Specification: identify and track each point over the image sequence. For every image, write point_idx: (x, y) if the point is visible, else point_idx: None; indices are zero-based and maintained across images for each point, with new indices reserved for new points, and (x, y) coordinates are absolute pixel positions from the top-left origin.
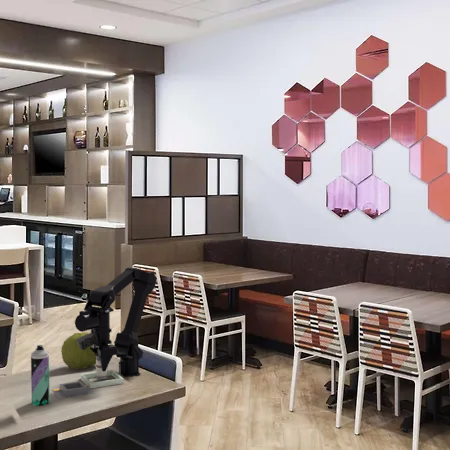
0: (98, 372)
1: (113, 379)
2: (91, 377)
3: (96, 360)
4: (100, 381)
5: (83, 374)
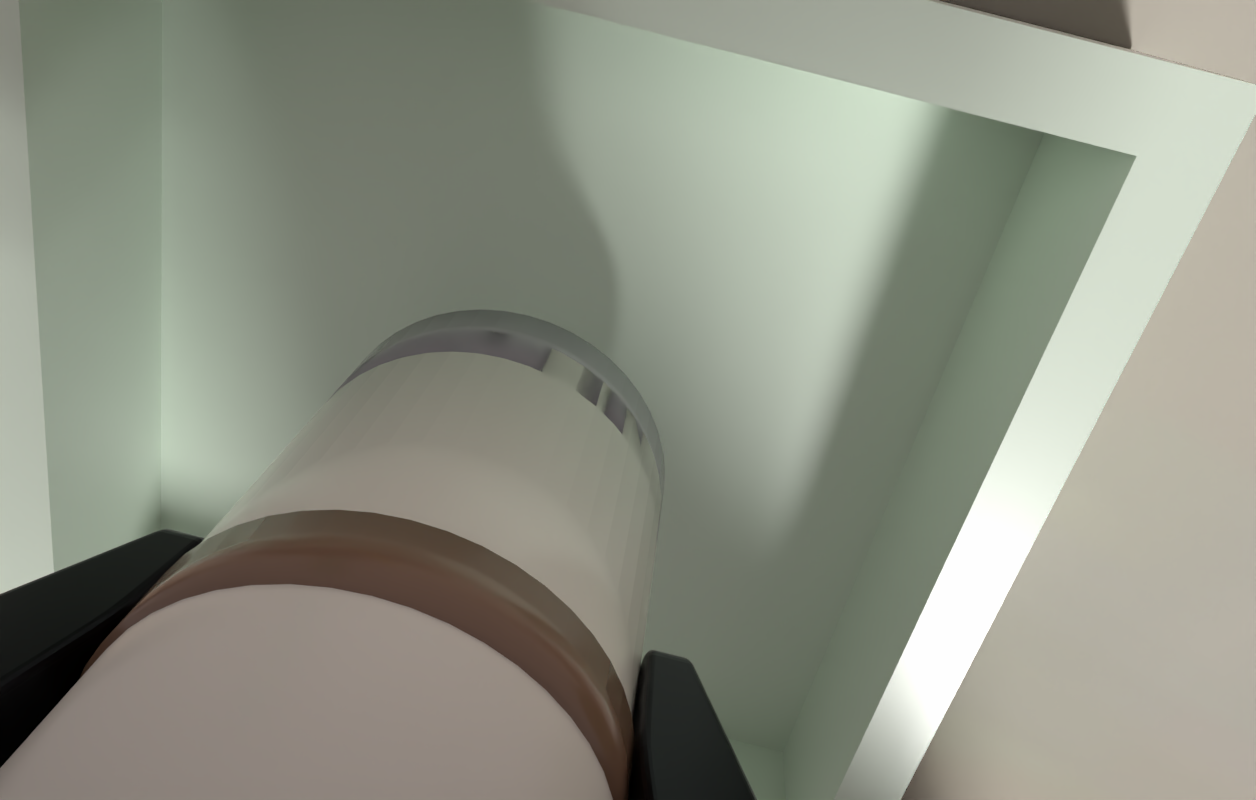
0: (324, 423)
1: (47, 553)
2: (970, 375)
3: (201, 792)
4: (10, 191)
5: (1132, 165)
